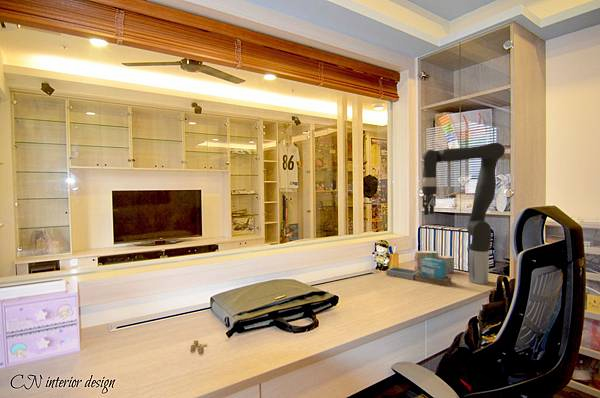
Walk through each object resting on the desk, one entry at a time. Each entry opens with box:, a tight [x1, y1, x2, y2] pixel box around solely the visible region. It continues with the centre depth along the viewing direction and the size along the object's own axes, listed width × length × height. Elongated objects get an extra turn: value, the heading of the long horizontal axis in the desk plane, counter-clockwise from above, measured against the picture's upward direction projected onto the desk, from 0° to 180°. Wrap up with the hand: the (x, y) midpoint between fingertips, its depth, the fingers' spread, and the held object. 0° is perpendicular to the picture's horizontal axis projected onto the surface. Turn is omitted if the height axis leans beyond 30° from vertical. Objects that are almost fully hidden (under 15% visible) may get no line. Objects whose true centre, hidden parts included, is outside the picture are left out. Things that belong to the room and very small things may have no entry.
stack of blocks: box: [414, 250, 455, 274], centre depth 193 cm, size 21×6×12 cm, turn 84°
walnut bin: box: [414, 272, 452, 287], centre depth 172 cm, size 10×16×3 cm, turn 48°
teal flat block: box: [421, 258, 447, 280], centre depth 172 cm, size 12×4×12 cm, turn 39°
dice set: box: [190, 339, 208, 353], centre depth 100 cm, size 5×5×2 cm
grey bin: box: [385, 266, 420, 281], centre depth 183 cm, size 10×16×3 cm, turn 49°
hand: (429, 214), depth 178 cm, fingers open, 8 cm apart
